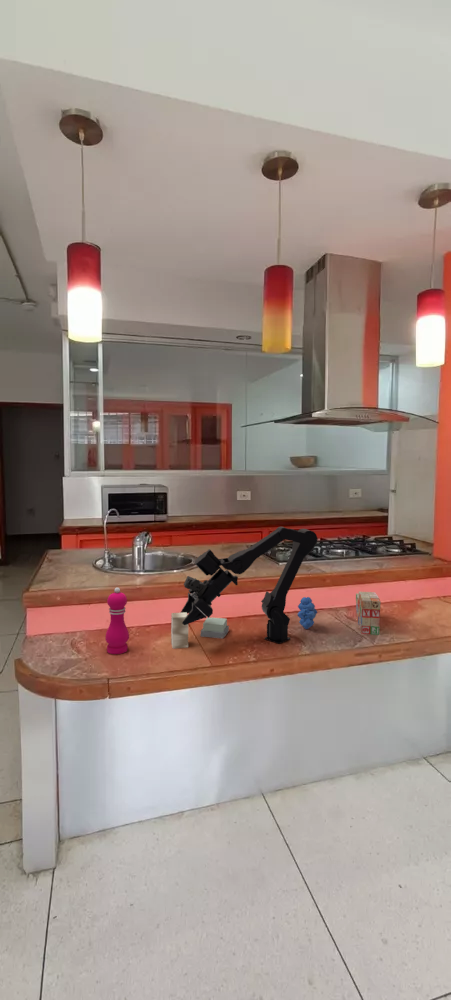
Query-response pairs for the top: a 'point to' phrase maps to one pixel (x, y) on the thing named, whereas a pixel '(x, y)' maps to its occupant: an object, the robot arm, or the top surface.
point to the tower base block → (215, 633)
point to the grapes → (306, 612)
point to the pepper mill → (117, 624)
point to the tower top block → (215, 624)
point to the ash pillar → (179, 630)
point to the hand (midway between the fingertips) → (181, 619)
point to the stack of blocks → (368, 612)
